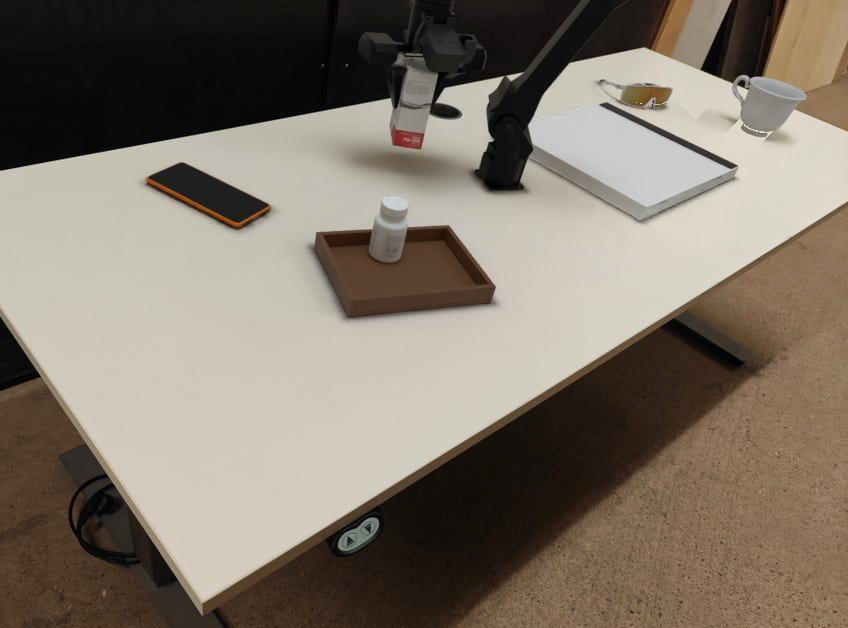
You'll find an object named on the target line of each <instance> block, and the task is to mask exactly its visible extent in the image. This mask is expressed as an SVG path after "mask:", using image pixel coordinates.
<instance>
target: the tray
mask: <svg viewBox="0 0 848 628" xmlns="http://www.w3.org/2000/svg"><path fill="white" fill-rule="evenodd" d="M372 229H373V228H367V229H350V230H349V229H348V230H347V229H346V230H329V231H327V230H326V231H316V232H315V238H314V247H313V249H314V250H315V253H316V255H317V257H318V259H319V261H320V263H321V265H322V267H323V268H324V271H325V273H326V275H327V277H328V279H329V281H330V283H331V285H332V287H333V289H334V292H335V293H336V295H337V297H338V299H339V301H340V303H341V306H342V307H343V310H344V311H345V313H346V315H347V317H348V318H352V317H361V316H372V315H381V314H382V315H383V314H390V313H391V314H392V313H401V312H411V311H420V310H430V309H440V308H442V309H443V308H450V307H459V306H460V307H462V306H469V305H470V306H471V305H480V304H488V303H489V304H490V303H492V301H493V297H494V295H495V292H496V289H497V285H495V283H494V282H493V281H492V280H491V278H490V277H489V276H488V274H487V272H486V271H485V270H484V269H483V268H482V267H481V265H480V263H478V261H477V260H476V258H475V257H474V256H473V255H472V253H471V251H470V250H469V249H468V248H467V246H466V245H465V244H464V243H463V241H462V240H461V238H459V236H458V234H456V232H455V231H454V229H452V227H451V226H450V225H449V224H443V225H423V226H408V228H407V233H406V237H405V241H404V246H403V250H402V254H401V257H400V259H399V260H397V261H396V262H392V263H385V262H381V261H378V260H376V259H374V258H373V257H372V256H371V255H370V253H369V245H370V240H371V235H372Z"/></svg>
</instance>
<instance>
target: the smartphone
mask: <svg viewBox="0 0 848 628" xmlns="http://www.w3.org/2000/svg"><path fill="white" fill-rule="evenodd" d="M145 180H146V182H147V183H148V184H149V185H151V186H154V187H156V188H158V189H160V190H162V191H163V192H165V193H167V194H169V195H171V196H173V197H175V198H178V199H179V200H181V201H183V202H185V203H187V204H189V205H191V206H193V207H195V208H197V209H199V210H201V211H203V212H205V213H207V214H209V215H210V216H213V217H214V218H216V219H218V220H220V221H223V222H224V223H227V224H228V225H229V226H232V227H233V228H241V227H243V226H244V225H246V224H248V223H250V222H251V221H253V220H255V219H257V218H258V217H260V216H262V215H263V214H265V213H267V212H269V211H270V210H271V209H272V206H271V204H270V203H268V202H266V201H264V200H262V199H260V198H258V197H256V196H254V195H251V194H250V193H247V192H246V191H243V190H242V189H240V188H237V187H235V186H233V185H231V184H229V183H227V182H225V181H223V180H221V179H220V178H217V177H215V176H213V175H211V174H209V173H207V172H205V171H203V170H201V169H199V168H196V167H195V166H193V165H191V164H188V163H187V162H184V161H180V162H178V163H175V164H173V165H170V166H168V167H166V168H164V169H161V170H159V171H156V172H154V173H152V174H150V175H148V176H146V178H145Z"/></svg>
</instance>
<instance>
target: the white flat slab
mask: <svg viewBox="0 0 848 628" xmlns="http://www.w3.org/2000/svg"><path fill="white" fill-rule="evenodd" d="M528 127H529V131H530V136H531V140H532V145H533V152H532V153H531V154H530V155H529V157H528V159H532V160H533V161H535V162H537V164H540V165H542V166H543V167H545V168H547V169H549V170H550V171H552V172H554V173H556V174H558V175H559V176H561V177H563V178H565V179H566V180H568V181H569V182H572V183H573V184H575V185H577V186H578V187H581V188H582V189H584V190H586V191H587V192H589V193H591V194H592V195H594V196H596V197H598V198H599V199H602V200H603V201H605V202H606V203H608V204H610V205H612V206H613V207H616V208H617V209H619V210H621V211H623V212H624V213H626V214H628V215H630V216H631V217H633V218H635V219H637V220H638V221H643V220H645V219H647V218H649V217H652V216H654V215H656V214H658V213H660V212H662V211H664V210H666V209H668V208H671V207H673V206H675V205H677V204H680V203H682V202H684V201H686V200H688V199H690V198H693V197H695V196H697V195H699V194H701V193H704V192H705V191H708V190H711V189H712V188H714V187H716V186H719V185H721V184H723V183H724V182H727V181H729V180H731V179H733V178H734V177H735V175H736V174H737V172H738V170H739V169H740V166H739V165H738V164H736V163H734V162H732V161H730V160H728V159H725V158H723V157H722V156H720V155H718V154H716V153H714V152H711V151H709V150H707V149H705V148H703V147H701V146H699V145H697V144H695V143H693V142H691V141H689V140H686V139H684V138H682V137H680V136H678V135H676V134H674V133H672V132H670V131H668V130H666V129H663V128H662V127H659V126H657V125H655V124H653V123H651V122H649V121H647V120H645V119H642V118H640V117H639V116H636V115H635V114H632V113H630V112H628V111H626V110H624V109H622V108H620V107H617V106H615V105H614V104H612V103H610V102H605V101H604V102H601V103H597V104H591V105H589V106H584V107H579V108H575V109H572V110H567V111H564V112H559V113H556V114H551V115H547V116H542V117H539V118H533V119H532V120H531V122H530V123H529V125H528Z"/></svg>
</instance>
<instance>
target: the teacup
mask: <svg viewBox="0 0 848 628" xmlns="http://www.w3.org/2000/svg"><path fill="white" fill-rule="evenodd" d="M741 81H744V83H745V84H744V89H748V90H747V94H746V96H745V98H744V97H743V96H742V95H741V93H740V92H739V90H738V84H739V82H741ZM731 91H732V94H733V96H734V97H735V98H736V99H737V100H738V101H739V103H740V111H739V112H740V113H739V117H740V120H741V122H742V123H743V124H742V125H741V126H740V130H741V131H743V132H744V133H745V134H747V135H750V136H752V137H758V138H766V137H767V136H768V133H769V132H770V133H771V132H774V131H777V130H779V129H780V128H781V127H782V126H783V125H784V124H785V123H786V121H787V120H788V119H789V117H790V116H791V115H792V113H793V112H794V110H796V109H797V107H798V106H799V105H800V103H801V102H803V101H804V100H806V99H807V98H808V96H807V94H806V92H805V91H803V90H802V89H800V88H798V87H796V86H794V85H792V84H790V83H787V82H784V81H782V80H778V79H775V78H771V77H766V76H753V77H751V78H750V77H749V76H748V75H746V74H742V75H739V76H737V77H736V78H735V80H734V81H733V83H732V85H731ZM744 124H745V125H746V126H748V127H749V128H751V129H754V130H758V131H764V132H768V133H760V132H756V131H753V130H750V129H748V128H747V127H745V126H744Z"/></svg>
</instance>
